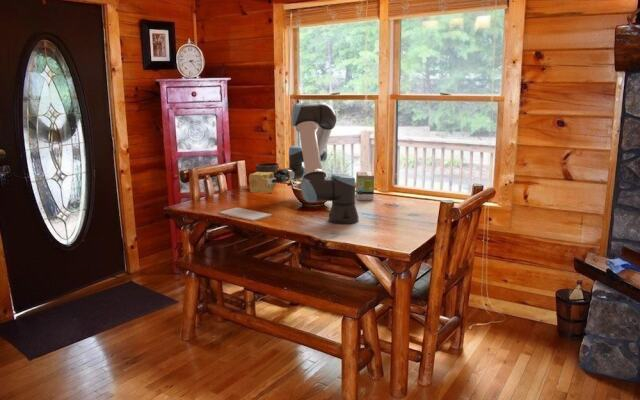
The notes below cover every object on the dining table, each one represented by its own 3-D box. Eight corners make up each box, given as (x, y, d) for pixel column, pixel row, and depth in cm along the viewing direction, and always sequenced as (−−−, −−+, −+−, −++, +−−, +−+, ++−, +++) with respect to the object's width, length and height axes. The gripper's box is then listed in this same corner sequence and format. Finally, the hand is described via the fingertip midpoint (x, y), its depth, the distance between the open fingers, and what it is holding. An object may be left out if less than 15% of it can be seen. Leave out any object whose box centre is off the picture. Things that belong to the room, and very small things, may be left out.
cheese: (266, 193, 278) (266, 175, 275) (248, 192, 281) (247, 174, 279) (274, 189, 287) (274, 172, 285) (257, 188, 291) (256, 171, 288)
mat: (271, 215, 271) (271, 214, 271) (253, 221, 261) (253, 219, 261) (237, 208, 287) (237, 207, 286) (219, 213, 277) (219, 212, 276)
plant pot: (251, 189, 338) (250, 164, 334) (268, 185, 349) (267, 161, 345) (267, 192, 329) (266, 167, 325) (284, 188, 340) (283, 164, 336)
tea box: (374, 200, 305) (374, 175, 301) (357, 200, 305) (357, 175, 301) (372, 194, 319) (372, 170, 316) (355, 194, 319) (355, 171, 316)
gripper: (301, 184, 291) (275, 190, 274) (269, 179, 306) (242, 185, 290) (301, 170, 289) (275, 176, 273) (268, 166, 304) (242, 171, 288)
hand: (258, 180), depth 281 cm, fingers closed on cheese, 13 cm apart
